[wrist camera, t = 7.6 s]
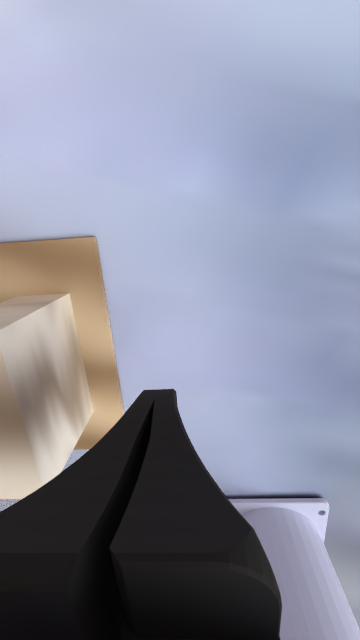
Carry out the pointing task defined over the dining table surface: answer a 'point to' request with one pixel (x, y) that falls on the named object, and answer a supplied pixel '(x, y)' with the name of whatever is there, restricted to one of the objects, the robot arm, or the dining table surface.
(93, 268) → the mat
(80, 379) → the slab
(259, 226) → the dining table surface
